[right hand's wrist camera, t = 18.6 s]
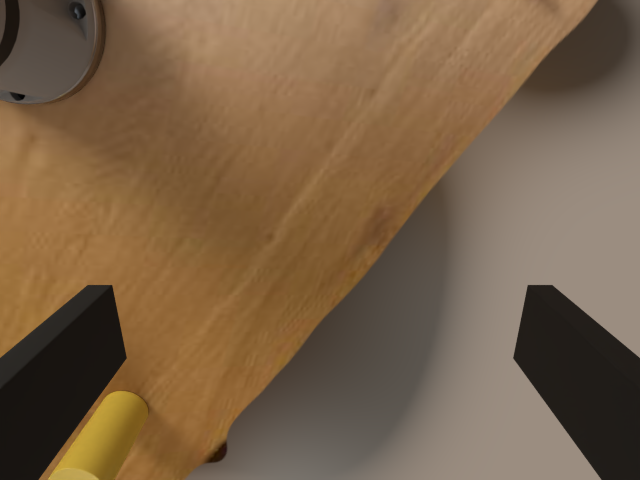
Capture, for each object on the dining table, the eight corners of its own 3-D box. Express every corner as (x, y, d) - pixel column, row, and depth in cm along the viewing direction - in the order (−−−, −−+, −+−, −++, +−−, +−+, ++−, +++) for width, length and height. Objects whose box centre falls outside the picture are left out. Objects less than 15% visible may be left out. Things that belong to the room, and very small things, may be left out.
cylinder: (93, 409, 52) (35, 490, 42) (119, 382, 51) (66, 459, 40) (131, 434, 53) (85, 517, 43) (157, 408, 52) (116, 488, 41)
